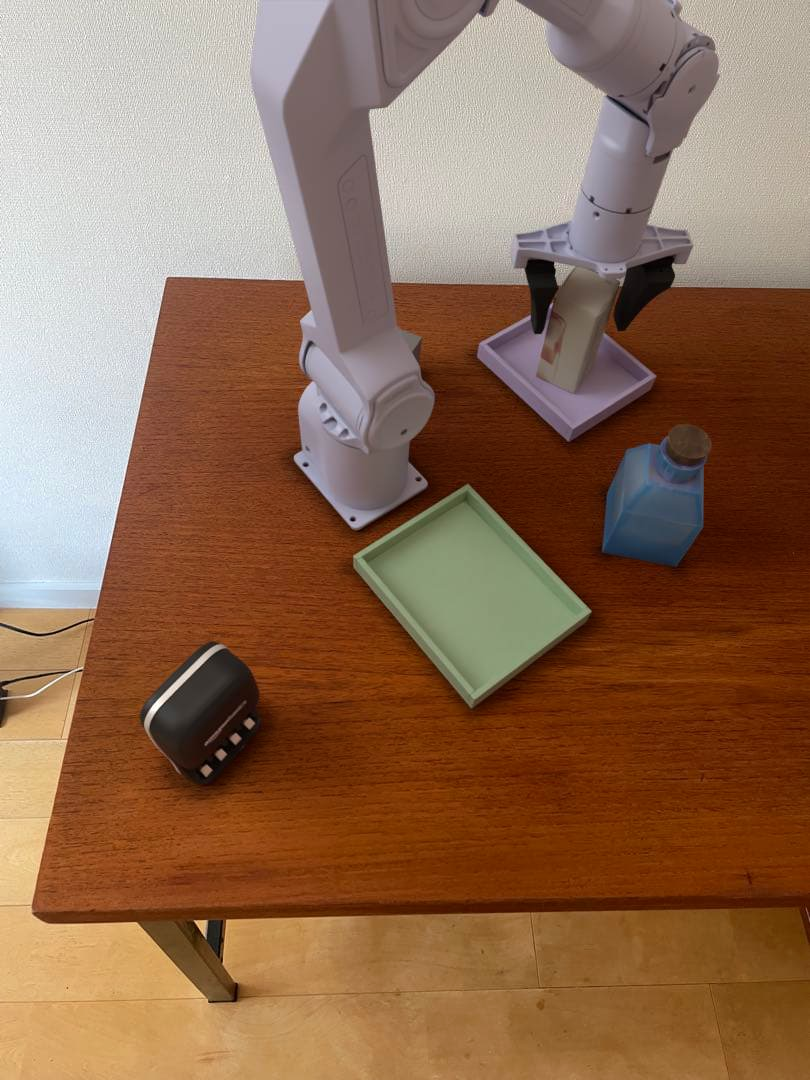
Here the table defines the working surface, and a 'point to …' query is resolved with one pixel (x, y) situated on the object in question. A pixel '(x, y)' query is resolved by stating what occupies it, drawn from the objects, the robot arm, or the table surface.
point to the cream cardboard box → (576, 328)
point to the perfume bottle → (658, 498)
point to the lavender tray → (567, 413)
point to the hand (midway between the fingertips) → (577, 324)
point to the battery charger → (204, 713)
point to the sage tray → (470, 593)
